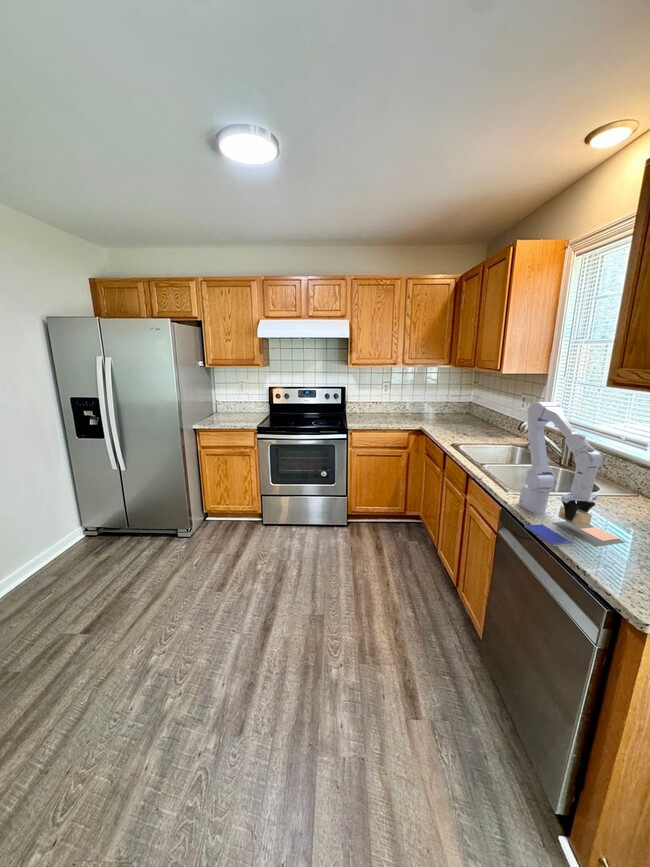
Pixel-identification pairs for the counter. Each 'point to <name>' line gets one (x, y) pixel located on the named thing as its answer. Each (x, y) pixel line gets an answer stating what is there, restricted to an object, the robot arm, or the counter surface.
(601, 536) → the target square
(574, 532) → the rubber mat
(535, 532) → the hard drive
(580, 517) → the maple block
